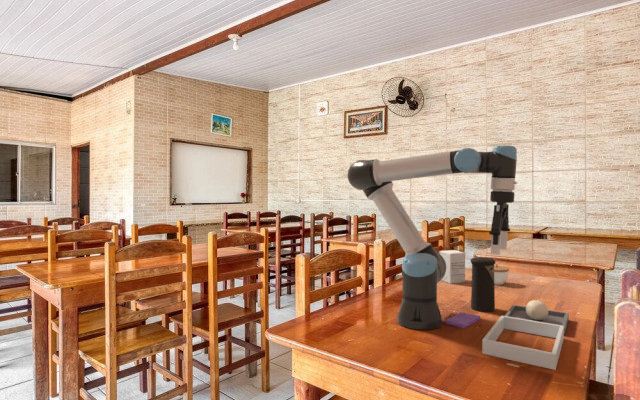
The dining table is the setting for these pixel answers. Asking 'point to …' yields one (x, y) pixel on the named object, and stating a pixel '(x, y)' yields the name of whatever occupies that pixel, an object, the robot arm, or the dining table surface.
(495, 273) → the lidded jar
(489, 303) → the container
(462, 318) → the sponges
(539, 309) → the cream round ball
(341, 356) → the dining table surface
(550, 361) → the light grey rectangular frame
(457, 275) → the supplement box
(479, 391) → the dining table surface
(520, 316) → the slate tray
